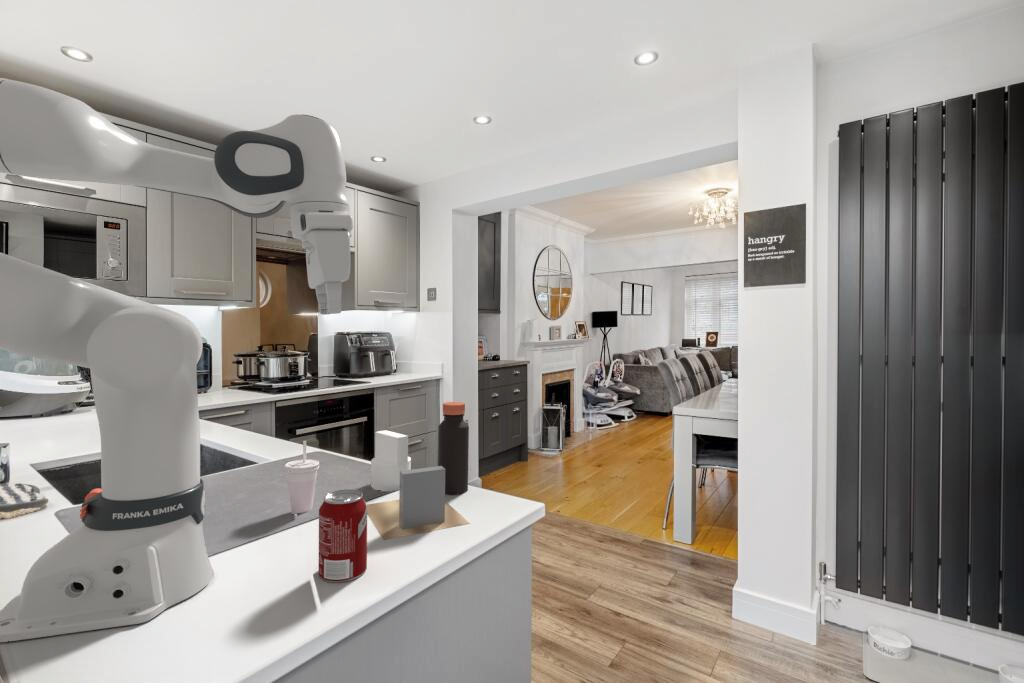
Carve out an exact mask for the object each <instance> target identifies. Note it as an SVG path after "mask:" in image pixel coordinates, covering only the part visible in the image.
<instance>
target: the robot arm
mask: <svg viewBox="0 0 1024 683" xmlns="http://www.w3.org/2000/svg"><path fill="white" fill-rule="evenodd" d="M213 155H214V157H213V158H212V157H207V156H202V155H197V154H194V153H188V152H184V151H179V150H175V149H171V148H165V147H161V146H157V145H155V144H154V145H153V144H151V143H149V142H145V141H143V140H140V139H138V138H137V137H135V136H133V135H131V134H129V133H128V132H126V131H124V130H123V129H121V128H120V127H118V126H117V125H116V124H114V123H112V122H111V121H109V119H108V118H106V117H104V116H103V115H102V114H100V113H99V112H98V111H97V110H95V109H93V108H92V107H91V106H89V105H88V104H87V103H86V102H84V101H83V100H79V99H77V98H75V97H72V96H70V95H66V94H64V93H61V92H58V91H55V90H52V89H49V88H48V87H44V86H40V85H37V84H33V83H28V82H25V81H20V80H19V81H18V80H15V79H14V80H13V79H10V78H6V77H0V173H1V174H2V173H4V174H8V175H10V174H11V175H16V176H22V177H30V178H37V179H48V180H49V179H50V180H58V181H59V180H60V181H69V182H70V181H71V182H87V183H99V184H100V183H101V184H109V185H110V184H111V185H122V186H133V187H139V188H143V189H144V188H145V189H151V190H157V191H161V192H166V193H172V194H179V195H184V196H188V197H189V196H190V197H195V198H200V199H205V200H210V201H213V202H216V203H219V204H220V205H223V206H224V207H227V208H228V209H229V210H231V211H233V212H235V213H237V214H239V215H242V216H244V217H248V218H252V219H254V218H255V219H262V218H268V217H271V216H273V215H275V214H276V213H278V212H279V211H280V210H281V209H282V208H283V206H284V205H285V204H286V202H287V203H288V207H289V208H288V209H289V218H290V227H291V228H290V229H291V236H292V238H293V239H295V240H299V241H301V248H302V249H303V250H305V261H306V272H307V273H306V274H307V275H306V276H307V284H308V287H309V288H310V289H313V290H315V295H316V300H317V303H318V308H319V309H318V310H319V314H320V315H321V316H324V315H326V316H327V315H335V314H336V315H337V314H341V313H342V294H343V292H342V291H343V288H342V287H343V286H342V283H344V282H346V281H349V279H350V276H351V275H350V274H351V238H352V236H353V234H352V233H353V228H354V223H353V217H352V214H351V212H350V204H349V201H348V198H347V194H346V185H347V171H346V169H347V168H346V162H345V156H344V151H343V145H342V142H341V140H340V136H339V134H338V132H337V130H336V129H335V128H334V127H333V126H332V125H331V124H330V123H328V122H327V121H325V120H323V119H321V118H318V117H315V116H313V115H309V114H291V115H289V116H287V117H286V118H284V119H283V120H282V121H280V122H278V123H276V124H274V125H271V126H268V127H264V128H260V129H256V130H239V131H234V132H232V133H229V134H228V135H226V136H225V137H223V138H222V139H221V140H220V141H219V143H217V146H216V148H215V151H214V154H213ZM203 347H204V346H203V337H202V334H201V332H200V331H199V329H198V328H197V326H196V324H195V323H194V322H192V321H191V319H189V318H187V317H186V316H185V315H183V314H181V313H179V312H176V311H173V310H171V309H168V308H165V307H162V306H158V305H157V304H153V303H151V302H147V301H145V300H142V299H138V298H135V297H132V296H130V295H126V294H123V293H120V292H117V291H115V290H111V289H108V288H105V287H102V286H99V285H96V284H93V283H91V282H87V281H84V280H81V279H78V278H76V277H73V276H70V275H67V274H64V273H61V272H58V271H55V270H52V269H51V268H46V267H44V266H41V265H38V264H35V263H32V262H29V261H26V260H23V259H21V258H17V257H15V256H12V255H9V254H6V253H3V252H0V350H3V351H6V352H9V353H13V354H17V355H21V356H24V357H28V358H35V359H41V360H46V361H47V360H48V361H51V362H52V361H53V362H57V363H61V364H66V365H72V366H78V367H81V368H87V369H89V370H90V373H89V374H90V380H91V386H92V395H93V401H94V406H95V407H94V408H95V411H96V416H97V420H98V427H99V434H100V436H99V437H100V462H101V463H100V471H101V472H100V474H101V475H100V476H101V477H100V478H101V479H100V480H101V481H100V482H101V484H100V485H101V488H100V487H99V488H94V489H92V490H90V491H89V493H88V494H87V495H86V496H85V497H84V502H83V503H82V504H81V509H79V511H80V514H79V518H80V520H81V523H82V524H81V525H80V526H78V527H77V528H76V529H74V530H73V531H72V532H70V533H69V534H68V535H66V536H65V537H64V538H62V539H61V540H60V541H58V542H57V543H56V544H54V545H53V546H52V547H50V548H49V549H47V550H46V551H45V552H44V553H43V554H41V555H40V556H39V558H38V559H36V561H34V563H33V564H32V566H31V567H30V568H29V570H28V572H27V574H26V576H25V579H24V581H23V584H22V587H21V592H20V593H19V594H17V595H15V597H14V598H12V599H11V600H10V601H9V602H8V603H7V604H6V605H5V606H4V607H3V608H2V609H1V611H0V643H8V641H9V642H14V641H21V640H30V639H36V638H37V639H38V638H42V637H43V638H45V637H52V636H58V635H67V634H73V633H80V632H81V633H82V632H87V631H94V630H95V631H96V630H102V629H109V628H117V627H123V626H131V625H138V624H142V623H146V622H148V621H150V620H152V619H153V618H155V617H156V616H158V615H159V614H162V613H163V612H164V611H165V610H166V609H168V608H170V607H172V606H174V605H176V604H178V603H180V602H183V601H184V600H186V599H189V598H190V597H192V596H194V595H195V594H197V593H198V592H200V591H201V590H203V589H205V587H207V585H208V584H209V583H210V582H211V581H212V579H213V577H214V574H215V573H214V570H213V566H212V564H211V561H210V559H209V554H208V551H207V547H206V545H207V544H206V542H205V541H206V540H205V537H204V536H205V535H204V528H203V520H204V517H205V514H206V513H205V509H206V498H205V497H206V495H205V494H206V493H205V488H204V480H203V479H202V478H201V423H200V415H199V414H200V412H199V396H198V378H197V376H198V375H197V374H198V372H197V370H198V369H197V366H198V365H197V364H198V362H199V361H200V359H201V356H202V355H203V349H204V348H203Z"/></svg>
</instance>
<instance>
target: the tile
mask: <svg viewBox="0 0 1024 683" xmlns="http://www.w3.org/2000/svg"><path fill="white" fill-rule="evenodd" d="M398 495H399V499H398V500H399V526H400V527H401V528H402V530H403V529H409V528H414V527H420V526H425V525H430V524H436V523H441V522H445V501H446V495H445V468H443V467H442V466H438V465H437V466H429V467H422V468H414V469H413V468H411V470H404V471H400V490H399V494H398Z"/></svg>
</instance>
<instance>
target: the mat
mask: <svg viewBox="0 0 1024 683" xmlns="http://www.w3.org/2000/svg"><path fill="white" fill-rule="evenodd" d="M367 517H368V518H369V519H370V520H371V522H372V524H373V525H374V527H375V528H376V530H377V531H378V533H379V535H380V537H381V538H382V540H384V541H386V540H391V539H392V540H393V539H396V538H402V537H403V538H404V537H407V536H412V535H417V534H425V533H429V532H433V531H439V530H440V531H441V530H444V529H445V530H446V529H449V528H450V529H451V528H454V527H456V528H457V527H459V526H465V525H470V524H471V523H470V522H469V521H468V520H467V519H466V518H465V517H464V516H463V515H462V514H460V513H459V511H457V510H456V509H455V508H453V507H452V506H451V505H450V504H449V503H448V502H447V501H446V500H445V522H441V523H436V524H430V525H425V526H420V527H414V528H409V529H403V530H402V528H401V527H400V526H399V499H394V500H388V501H381V502H376V503H375V502H374V503H373V502H372V503H368V504H367Z"/></svg>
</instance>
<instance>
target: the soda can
mask: <svg viewBox="0 0 1024 683" xmlns="http://www.w3.org/2000/svg"><path fill="white" fill-rule="evenodd" d="M363 497H364V493H363V492H362V491H361V490H358V489H350V488H349V489H339V490H333V491H331V492H327V493H326V494H324V495H323V502H322V504H321V505H320V507H319V509H318V578H319V579H321V580H322V582H327V583H330V584H331V583H332V584H340V583H341V584H342V583H348V582H350V581H355V580H357V579H358V578H360V577H361V576H363V575H364V574H365V573H366V571H367V568H368V565H367V564H368V563H367V562H368V555H367V553H368V514H367V502H366V501H365V499H364V498H363Z"/></svg>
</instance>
